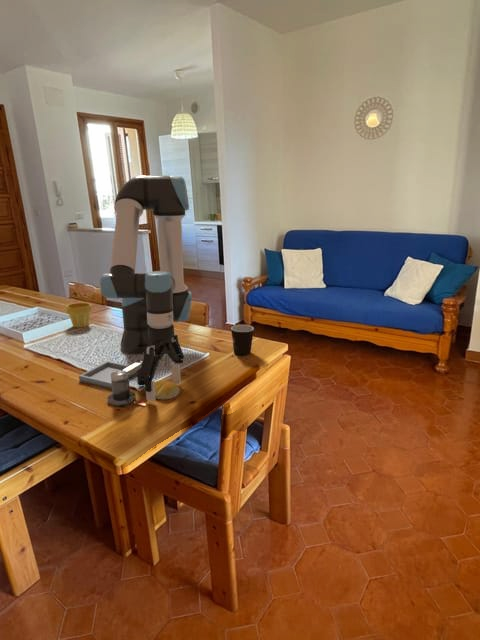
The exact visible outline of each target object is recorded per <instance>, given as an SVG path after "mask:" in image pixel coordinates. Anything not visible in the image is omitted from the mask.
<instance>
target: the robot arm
mask: <svg viewBox="0 0 480 640" xmlns="http://www.w3.org/2000/svg"><path fill="white" fill-rule="evenodd" d="M188 195H189V194H188V190H187V185H186V181H185V179H184V177H183V176H180V175H179V176H178V175H145V174H144V175H136V176H134V177H132V178H130V179H129V180H128V181H126V182H125V183H124V184H123V185H122V186H121V188H120V189H119V190H118V192H117V194H116V197H115V199H114V206H113V207H114V212H115V214H116V215H115V216H116V217H115V225H114V233H113V241H112V250H111V256H110V257H111V259H110V266H109V272H107V273H102V275H101V276H100V279H99V280H100V281H99V287H100V293H101V295H102V296H103V297H104V298H106V299H117V300H118V299H121V304H120V305H121V310H122V311H121V312H122V323H123V331H122V336H121V341H120V350H121V351H122V352H124V353H127V354H135V355H137V354H143V359H142V360H143V363H142V367H141V372H140V376H139V381H143V382H145V385H144V390H145V399H146V401H149V402H157V401H156V399H157V398H155V382H156V381H155V379H154V376H155V374H156V371H157V368H158V366H159V363H160V361H161V360H162V358H163V357H164V356H165V355H167V357H169V359H170V360H171V361H172V362H171V363H170V364H171V365H170V366H171V367H170V368H171V382H173V383H175V384H181V382H182V381H181V364H183V363H184V359H185V355H184V352H183V349H182V347H181V345H180V342H179V337H178V334H175V325H174V323H179V322H181V323H182V322H187V321H189V319H190V317H191V316H190V315H191V305H192V297H193V296H192V291H189V287H188V286H187V285H186V284H185V281H184V279H185V278H184V259H183V258H184V255H183V254H184V253H183V230H182V229H183V227H182V220H183V219H184V218H185V216H186V212H187V211H189V210H190V203H189V196H188ZM146 210H147V211H152V216H153V217H154V218H155V219H156V220H157V233H158V234H157V236H158V252H159V268H160V269H159V270H155V271H149V272H145V273H143V272H141V273H135V272H136V264H137V263H136V262H137V252H138V251H137V250H138V239H139V238H138V237H139V229H140V217H142V216H143V214H144V211H146Z"/></svg>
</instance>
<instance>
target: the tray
mask: <svg viewBox="0 0 480 640" xmlns="http://www.w3.org/2000/svg"><path fill="white" fill-rule="evenodd" d="M130 365H131V364H130ZM130 365H128V364H123V363H119V362H116V361H110V360H107V361H105V362H102V363H101V364H99V365H97V366H94V367H93V368H92V369H89V370H87V371H85V372H83V373H82V374H79V375H78V381H79V382H80V383H85V384H88V385H94V386H97V387H102V388H106V389H110V390H112V383H111V373H113V372H115V371H118V370H123V369H125V368H127V367H129V366H130ZM135 376H137V371H135V372H134V373H132V374H130V375H129V380H130V379H131V378H133V377H135Z"/></svg>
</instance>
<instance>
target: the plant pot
mask: <svg viewBox="0 0 480 640" xmlns="http://www.w3.org/2000/svg"><path fill="white" fill-rule="evenodd" d="M91 312H92V305H91V303H89V302H73V303H70V304H68V305H66V313H67V315H68V316H69V318H70V321H71V324H72V326H73V327H74V328H77V329H78V328H85V327H87V326H89V325H90V324H89V323H90V316H91V315H90V314H91Z"/></svg>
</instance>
